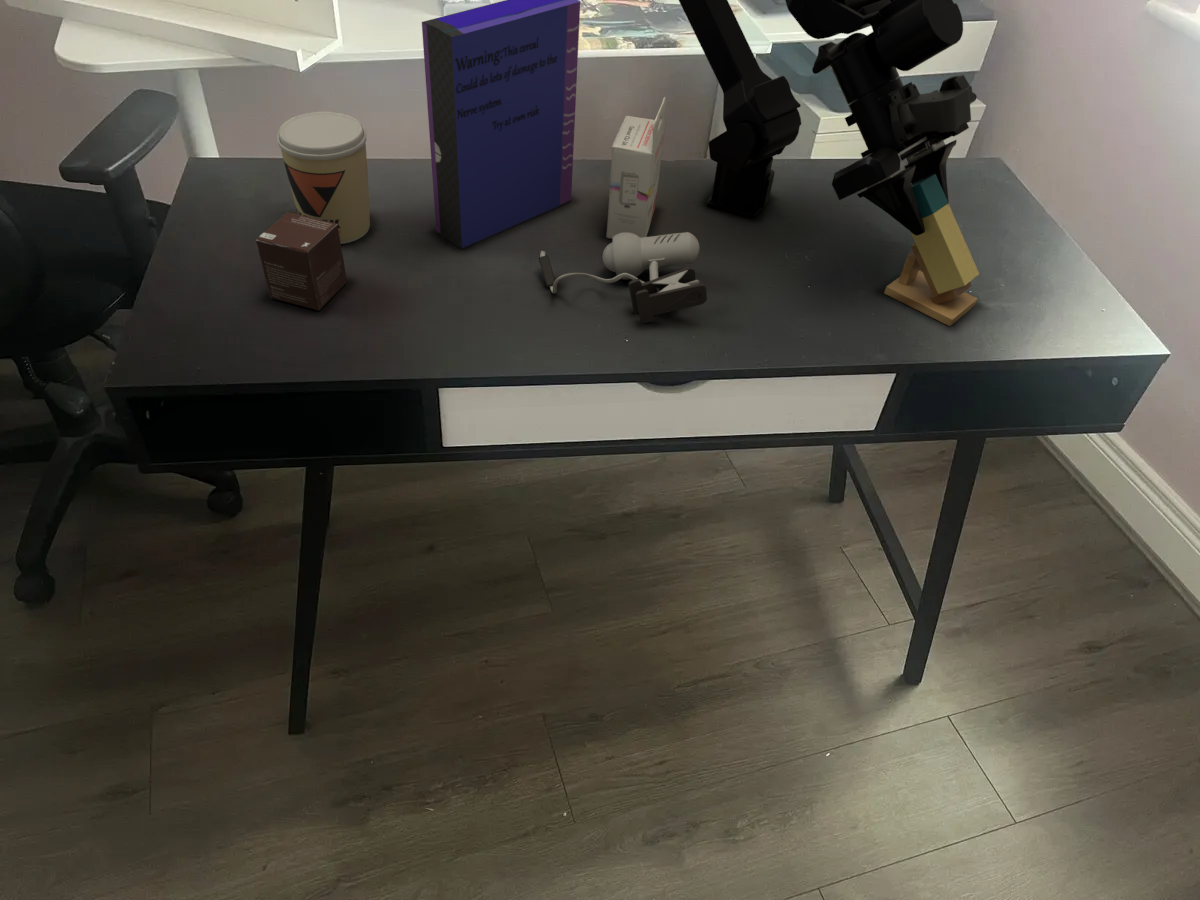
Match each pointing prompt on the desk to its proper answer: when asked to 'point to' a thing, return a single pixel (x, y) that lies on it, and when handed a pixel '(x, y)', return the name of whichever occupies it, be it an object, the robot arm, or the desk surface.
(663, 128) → the ink cartridge box
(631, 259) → the clip-on lamp
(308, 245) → the box
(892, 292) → the tan wooden stand
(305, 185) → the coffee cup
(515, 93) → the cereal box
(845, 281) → the desk surface
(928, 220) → the two-tone square bar
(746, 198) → the robot arm
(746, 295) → the desk surface
